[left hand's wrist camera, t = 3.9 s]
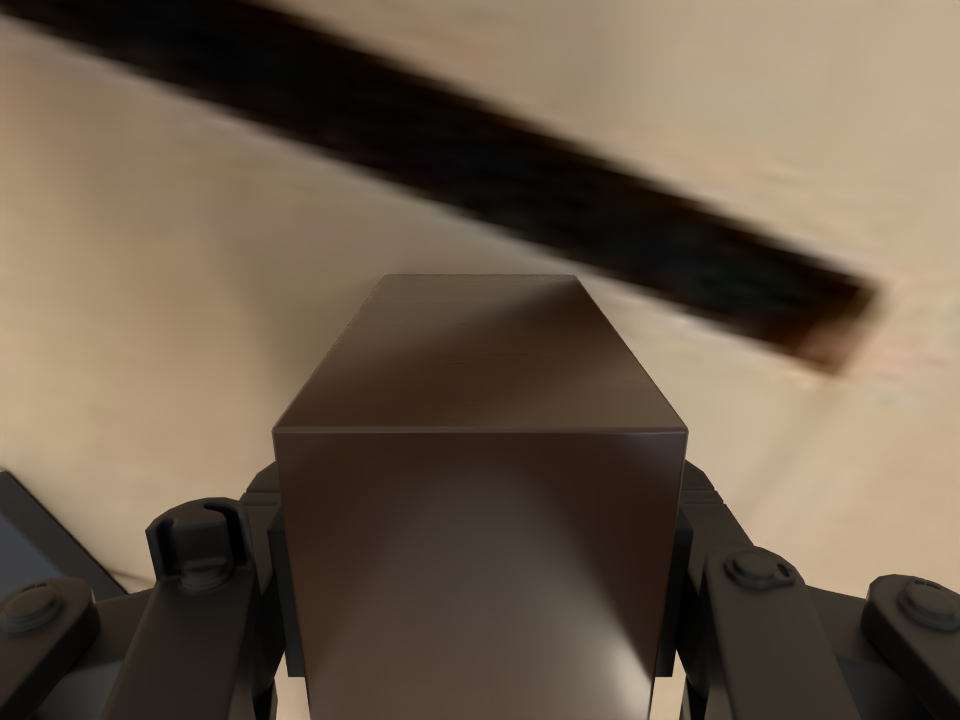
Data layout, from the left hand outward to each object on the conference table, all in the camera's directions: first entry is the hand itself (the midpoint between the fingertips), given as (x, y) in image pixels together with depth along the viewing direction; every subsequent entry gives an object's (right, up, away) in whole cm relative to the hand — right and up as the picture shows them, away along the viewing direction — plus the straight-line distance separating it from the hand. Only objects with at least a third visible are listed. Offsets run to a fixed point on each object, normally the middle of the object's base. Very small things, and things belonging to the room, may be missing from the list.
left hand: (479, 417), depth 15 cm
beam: (0, -9, +4) cm, 9 cm away
